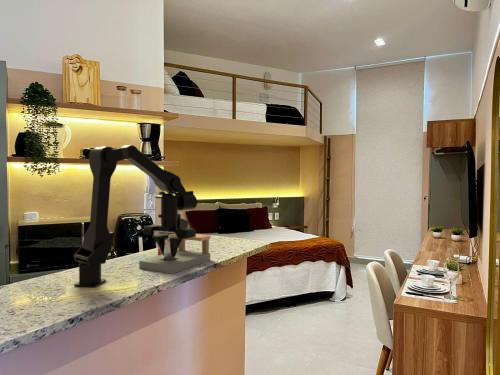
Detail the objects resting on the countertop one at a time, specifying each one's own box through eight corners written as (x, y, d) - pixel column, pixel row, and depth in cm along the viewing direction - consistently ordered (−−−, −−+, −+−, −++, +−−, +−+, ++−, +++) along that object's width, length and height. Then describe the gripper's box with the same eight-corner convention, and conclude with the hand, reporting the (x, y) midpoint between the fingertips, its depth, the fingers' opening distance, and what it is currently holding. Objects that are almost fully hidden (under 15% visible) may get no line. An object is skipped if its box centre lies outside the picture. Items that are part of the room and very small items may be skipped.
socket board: (172, 273, 120) (172, 245, 119) (139, 268, 126) (139, 241, 126) (210, 260, 139) (210, 235, 139) (180, 255, 146) (180, 232, 145)
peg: (172, 263, 127) (172, 240, 127) (162, 263, 128) (162, 239, 127) (175, 261, 131) (176, 238, 130) (166, 260, 131) (166, 238, 131)
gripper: (205, 210, 131) (204, 254, 132) (163, 208, 140) (163, 249, 140) (185, 213, 121) (185, 261, 122) (142, 210, 130) (142, 255, 131)
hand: (169, 256), depth 129 cm, fingers closed on peg, 4 cm apart
